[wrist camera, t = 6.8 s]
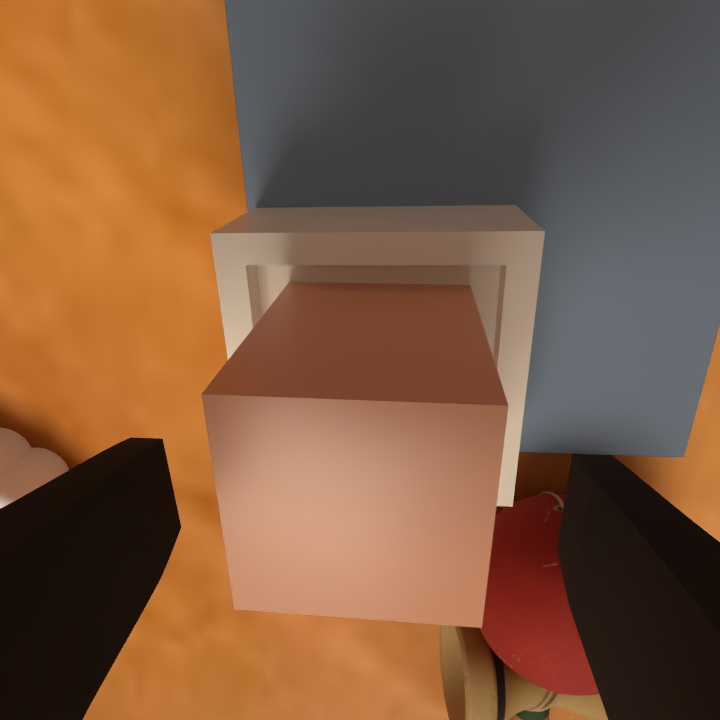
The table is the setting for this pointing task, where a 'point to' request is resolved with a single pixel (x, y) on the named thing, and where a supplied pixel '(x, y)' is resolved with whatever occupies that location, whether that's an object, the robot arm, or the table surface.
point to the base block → (395, 274)
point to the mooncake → (24, 466)
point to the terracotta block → (360, 454)
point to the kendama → (520, 629)
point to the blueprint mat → (521, 171)
